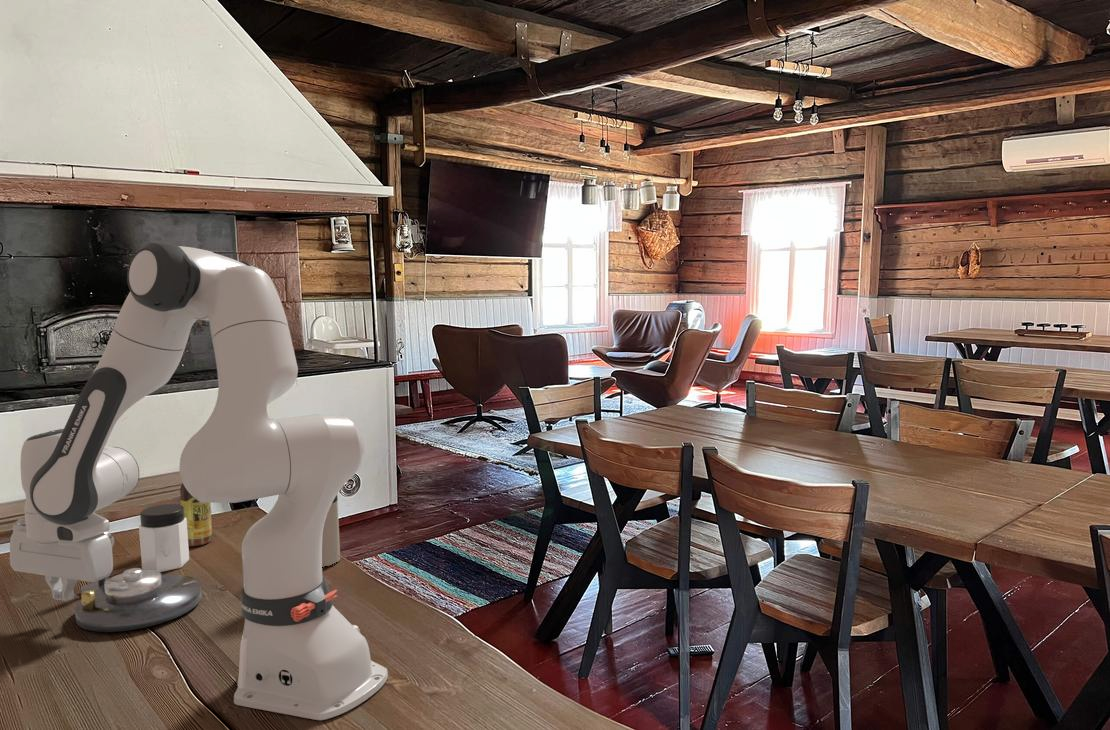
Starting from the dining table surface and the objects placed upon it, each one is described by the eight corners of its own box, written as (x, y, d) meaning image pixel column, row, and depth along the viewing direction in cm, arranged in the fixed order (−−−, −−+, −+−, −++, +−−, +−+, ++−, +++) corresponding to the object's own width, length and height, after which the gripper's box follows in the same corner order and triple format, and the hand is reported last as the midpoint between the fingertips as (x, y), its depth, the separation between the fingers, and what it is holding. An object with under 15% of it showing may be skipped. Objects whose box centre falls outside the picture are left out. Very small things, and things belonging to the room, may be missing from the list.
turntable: (183, 575, 152) (181, 551, 151) (216, 607, 137) (214, 580, 136) (65, 605, 139) (63, 578, 138) (88, 643, 124) (86, 614, 123)
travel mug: (314, 572, 155) (310, 486, 152) (293, 563, 160) (289, 479, 158) (347, 560, 161) (344, 477, 158) (326, 552, 166) (322, 471, 164)
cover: (171, 592, 139) (169, 568, 138) (119, 609, 132) (117, 585, 131) (147, 581, 144) (145, 558, 144) (96, 597, 137) (94, 573, 137)
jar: (145, 576, 153) (140, 518, 152) (139, 564, 160) (135, 508, 159) (193, 565, 159) (189, 510, 157) (185, 554, 165) (181, 501, 164)
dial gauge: (130, 590, 147) (126, 531, 145) (104, 599, 142) (100, 539, 141) (107, 583, 150) (102, 525, 149) (81, 592, 146) (76, 533, 144)
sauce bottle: (197, 549, 169) (191, 461, 166) (175, 546, 171) (169, 459, 168) (219, 539, 175) (214, 454, 172) (198, 536, 177) (192, 453, 175)
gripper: (-5, 522, 132) (2, 599, 133) (84, 533, 125) (91, 613, 127) (30, 512, 138) (37, 585, 139) (116, 522, 131) (123, 598, 133)
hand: (63, 599), depth 133 cm, fingers closed
